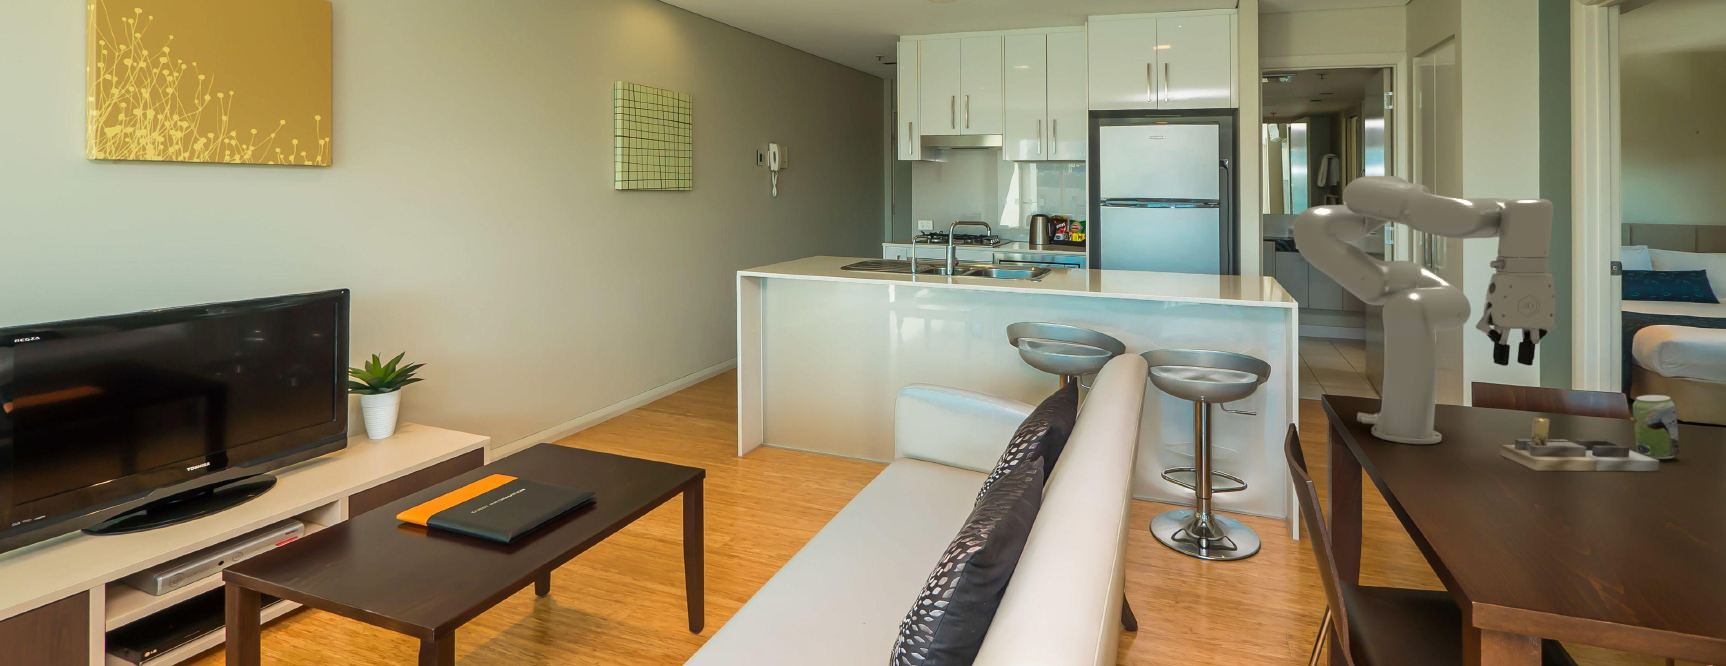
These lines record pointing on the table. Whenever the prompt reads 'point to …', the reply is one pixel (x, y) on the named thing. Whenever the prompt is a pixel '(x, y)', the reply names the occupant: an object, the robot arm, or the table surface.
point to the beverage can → (1656, 426)
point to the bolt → (1543, 435)
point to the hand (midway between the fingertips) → (1512, 363)
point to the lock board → (1579, 456)
